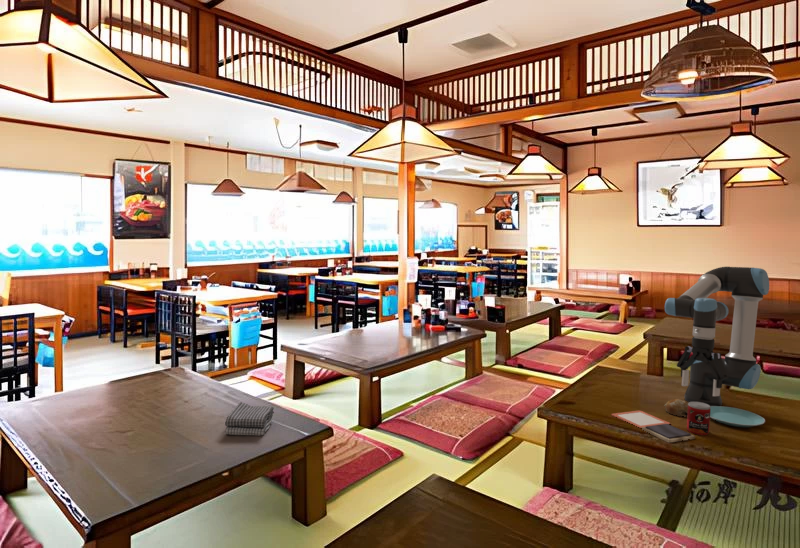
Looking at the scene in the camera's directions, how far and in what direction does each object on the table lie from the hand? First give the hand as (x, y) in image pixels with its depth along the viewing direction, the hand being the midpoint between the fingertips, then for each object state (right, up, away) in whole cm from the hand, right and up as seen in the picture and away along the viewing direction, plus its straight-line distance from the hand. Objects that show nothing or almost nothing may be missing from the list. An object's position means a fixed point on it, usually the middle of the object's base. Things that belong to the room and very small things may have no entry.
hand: (699, 390), depth 193 cm
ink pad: (-14, -17, -2) cm, 22 cm away
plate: (+23, -17, +15) cm, 32 cm away
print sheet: (-17, -15, +13) cm, 27 cm away
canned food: (0, -17, +1) cm, 17 cm away
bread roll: (+4, -16, +23) cm, 28 cm away
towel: (-177, -14, -3) cm, 177 cm away
